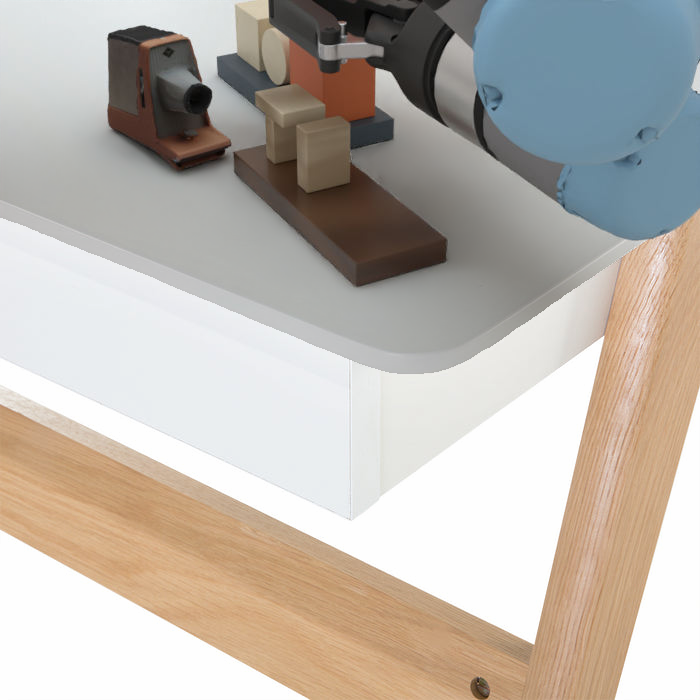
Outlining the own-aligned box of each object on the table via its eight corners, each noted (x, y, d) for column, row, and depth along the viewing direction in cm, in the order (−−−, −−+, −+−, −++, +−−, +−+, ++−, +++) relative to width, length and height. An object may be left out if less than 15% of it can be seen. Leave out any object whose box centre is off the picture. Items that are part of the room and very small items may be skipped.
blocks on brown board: (446, 261, 71) (451, 175, 68) (356, 287, 69) (356, 198, 66) (314, 153, 83) (313, 76, 80) (233, 172, 81) (229, 93, 78)
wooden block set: (393, 138, 85) (395, 62, 82) (316, 156, 83) (316, 78, 80) (287, 61, 97) (285, -8, 94) (217, 75, 95) (213, 4, 92)
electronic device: (178, 176, 80) (169, 65, 76) (104, 129, 86) (92, 24, 82) (234, 158, 82) (229, 49, 78) (159, 114, 89) (150, 10, 85)
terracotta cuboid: (375, 116, 85) (378, -111, 76) (323, 127, 83) (321, -103, 75) (340, 91, 88) (339, -128, 80) (290, 101, 87) (284, -121, 78)
